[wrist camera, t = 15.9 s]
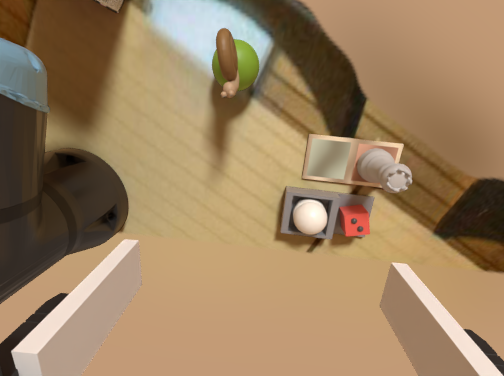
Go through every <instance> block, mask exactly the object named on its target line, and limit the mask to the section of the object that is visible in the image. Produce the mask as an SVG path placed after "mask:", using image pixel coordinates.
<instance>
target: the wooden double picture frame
mask: <svg viewBox="0 0 504 376" xmlns="http://www.w3.org/2000/svg"><path fill="white" fill-rule="evenodd" d="M403 145H404V144H398V143H389V142H380V141H370V140H361V139H352V138H343V137H333V136H324V135H315V134H309V138H308V144H307V150H306V156H305V163H304V169H303V175H302V178H304V179H313V180H321V181H330V182H338V183H347V184H355V185H364V186H372V187H381V188H382V186H381V184H380V183H371V182H368V181H366V180H365V179H363V178H362V177H361V176H360V175H359V173H358V170H357V164H358V160H359V158H360V157H361V155H362V154H363V153H365V152H366V151H368V150H370V149H374V148H378V149H383V150H385V151H387V152H388V153H390V154H391V156H392V157H393V158H394V161H395V163H397V164H398V163H399V159H400V156H401V152H402V148H403Z"/></svg>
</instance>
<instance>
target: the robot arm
mask: <svg viewBox="0 0 504 376" xmlns="http://www.w3.org/2000/svg"><path fill="white" fill-rule="evenodd" d="M49 112H50V107H49V106H48V100H47V71H46V68H45V66H44V64H43V63H42V61H41V60H40V59H39V58H38V57H37V56H36V55H35V54H34V53H32V52H31V51H29V50H28V49H26V48H24V47H21V46H19V45H17V44H14V43H12V42H10V41H7V40H4V39H2V38H0V304H1V303H2V302H3V301H5V300H6V299H8V298H9V297H10V296H12V295H13V294H14V293H16V292H17V291H18V290H20V289H21V288H22V287H24V286H25V285H27V284H28V283H29V282H30V281H32V280H33V279H35V278H36V277H37V276H39V275H40V274H41V273H43V272H44V271H45V270H47V269H48V268H50V267H51V266H52V265H54V264H55V263H56V262H58V261H59V260H61V259H62V258H63V257H64V256H66V255H69V254H73V253H76V252H79V251H83V250H86V249H90V248H93V247H96V246H98V245H101V244H103V243H104V242H106V241H107V240H109V239H110V238H111V237H113V236H114V235H115V234H116V233H117V232H118V231H119V230H120V229H121V228H122V226H123V224H124V223H125V220H126V217H127V213H128V199H127V194H126V191H125V188H124V185H123V183H122V181H121V180H120V178H119V176H118V175H117V174H116V172H115V171H114V170H113V169H112V168H111V167H110V166H109V165H108V164H107V163H106V162H105V161H104V160H102V159H101V158H99V157H98V156H96V155H94V154H92V153H90V152H87V151H84V150H80V149H73V148H66V149H59V150H55V151H50V152H46V153H45V138H46V126H47V113H49ZM141 285H142V280H141V265H140V250H139V240H127V239H125V240H123V241H122V242H121V243H120V244H119V245H118V246H117V247H116V248H115V249H114V250H113V251H112V252H111V253H110V254H109V255H108V256H107V257H106V258H105V259H104V260H103V261H102V262H101V263H100V264H99V265H98V266H97V267H96V268H95V269H94V270H93V271H92V272H91V273H90V274H89V275H88V276H87V277H86V278H85V279H84V280H83V281H82V282H81V283H80V284H79V285H78V286H77V287H76V288H75V289H74V290H73V291H72V292H71V293H70V294H66V293H60V294H58V295H57V296H55V297H53V298H52V299H50V300H48V301H46V302H45V303H44V304H43V305H42V306H41V307H40V308H39V309H38V310H36V312H35V314H32V315H31V316H30V317H29V318H28V319H27V320H26V322H25V323H23V324H21V325H20V326H19V327H18V328H17V329H16V330H15V331H14V332H13V333H12V334H11V335H9V336H8V338H6V339H5V340H4V341H3V342H2V343H1V344H0V376H81V375H82V373H83V372H84V370H85V369H86V367H87V366H88V364H89V363H90V361H91V360H92V358H93V357H94V355H95V354H96V352H97V351H98V349H99V348H100V346H101V345H102V343H103V342H104V340H105V339H106V337H107V336H108V334H109V333H110V331H111V330H112V328H113V327H114V325H115V324H116V322H117V321H118V319H119V318H120V316H121V315H122V313H123V312H124V311H125V309H126V307H127V306H128V305H129V303H130V302H131V300H132V298H133V297H134V295H135V294H136V292H137V291H138V290H139V288H140V286H141ZM380 308H381V309H382V311H383V313H384V315H385V317H386V318H387V320H388V322H389V324H390V326H391V327H392V329H393V331H394V333H395V335H396V336H397V338H398V340H399V342H400V343H401V345H402V347H403V349H404V351H405V352H406V354H407V356H408V358H409V360H410V361H411V363H412V365H413V367H414V369H415V370H416V372H417V374H418V376H504V361H503V360H502V359H501V358H500V356H497V353H496V352H495V351H494V350H493V349H492V348H491V347H490V346H489V345H488V344H487V342H486V341H485V340H483V339H482V338H481V337H479V336H478V335H477V334H475V333H474V332H473V331H471V330H467V329H462V327H461V326H460V325H459V324H458V323H457V322H456V321H455V319H454V318H453V317H452V316H451V315H450V314H449V313H448V311H447V310H446V309H445V308H444V307H443V306H442V304H441V303H440V302H439V301H438V300H437V299H436V297H434V295H433V294H432V293H431V292H430V291H429V289H428V288H427V287H426V286H425V285H424V284H423V282H422V281H421V280H420V279H419V278H418V277H417V276H416V274H415V273H414V272H413V271H412V270H411V269H410V267H409V266H408V265H407V264H403V263H391V266H390V269H389V273H388V277H387V281H386V284H385V288H384V292H383V295H382V299H381V303H380Z"/></svg>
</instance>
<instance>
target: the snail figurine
mask: <svg viewBox="0 0 504 376" xmlns="http://www.w3.org/2000/svg"><path fill="white" fill-rule="evenodd" d="M216 47H217V50H216V51H215V53H214V56H213V60H212V69H213V73H214V76H215V78H216V80H217V81H218V82H219V84H220V85H222V86H223V92H221V97H223V98H224V97H228V98H232V97H233V96H235V94H236V92H237V91H241V90H244V89H246V88H248V87H249V86H251V85H252V84H253V82H254V81H255V79H256V78H257V75H258V72H259V60H258V56H257V54H256V52H255V50H254V49H253V48H252V47H251V46H250V45H249V44H248V43H246V42H244V41H242V40H237V39H233V37H232V34H231V32H230V31H229V30H228V29H226V28H222V29H220V30H219V31H218V33H217V37H216Z"/></svg>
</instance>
